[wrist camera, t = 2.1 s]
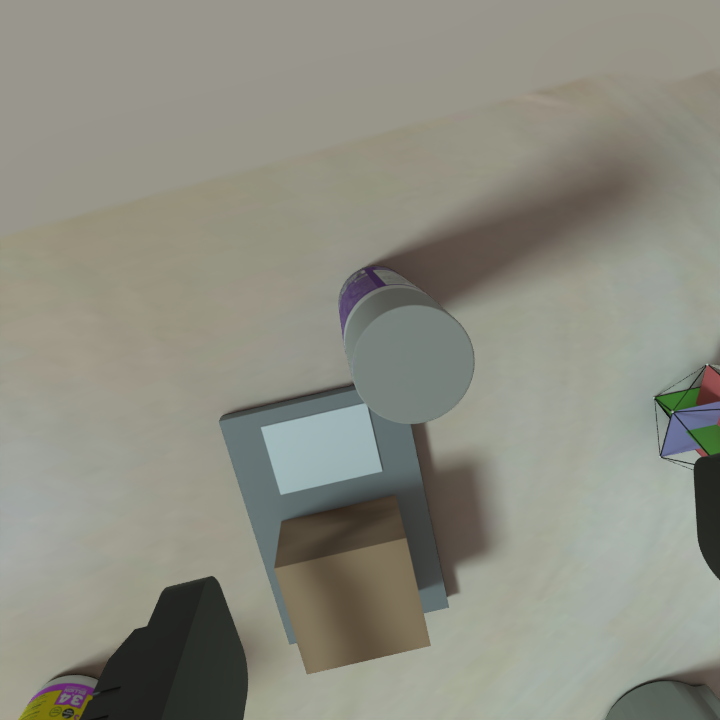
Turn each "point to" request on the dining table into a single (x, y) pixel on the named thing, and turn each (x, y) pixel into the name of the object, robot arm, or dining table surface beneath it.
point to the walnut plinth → (350, 585)
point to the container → (402, 347)
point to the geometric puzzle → (693, 417)
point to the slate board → (329, 475)
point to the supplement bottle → (61, 699)
